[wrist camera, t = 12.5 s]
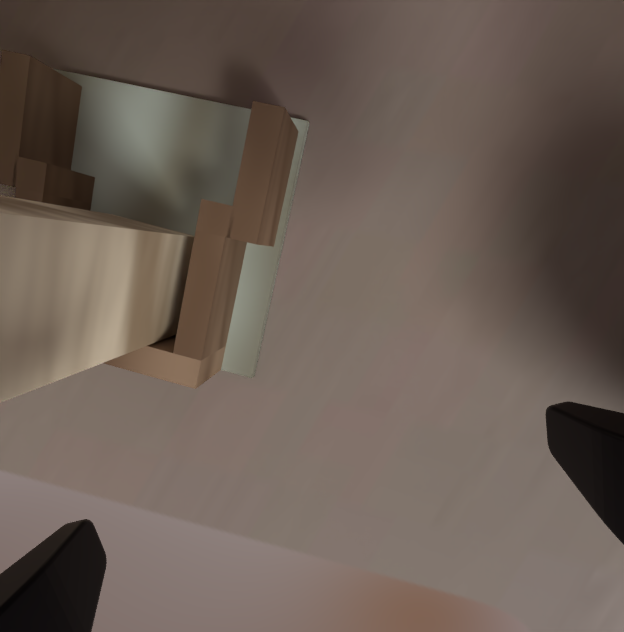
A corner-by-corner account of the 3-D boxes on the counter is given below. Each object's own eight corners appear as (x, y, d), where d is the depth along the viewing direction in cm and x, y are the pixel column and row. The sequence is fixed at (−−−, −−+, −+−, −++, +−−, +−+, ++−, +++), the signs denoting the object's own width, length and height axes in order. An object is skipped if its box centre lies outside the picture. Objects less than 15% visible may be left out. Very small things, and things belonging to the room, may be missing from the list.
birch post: (202, 237, 19) (-7, 212, 9) (183, 331, 20) (-32, 415, 9) (112, 214, 20) (-194, 162, 9) (96, 306, 21) (-205, 360, 10)
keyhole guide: (309, 123, 19) (295, 94, 15) (254, 375, 20) (231, 398, 17) (59, 72, 20) (-4, 34, 16) (29, 315, 22) (-33, 325, 18)
